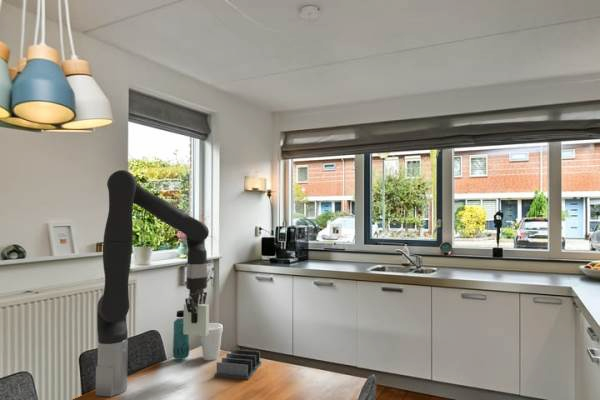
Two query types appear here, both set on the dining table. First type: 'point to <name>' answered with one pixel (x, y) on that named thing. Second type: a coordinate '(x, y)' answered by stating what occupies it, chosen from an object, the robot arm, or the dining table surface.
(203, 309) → the tile
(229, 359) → the rack
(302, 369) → the dining table surface
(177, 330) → the beverage bottle
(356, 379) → the dining table surface
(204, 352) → the foam cup
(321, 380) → the dining table surface
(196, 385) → the dining table surface
